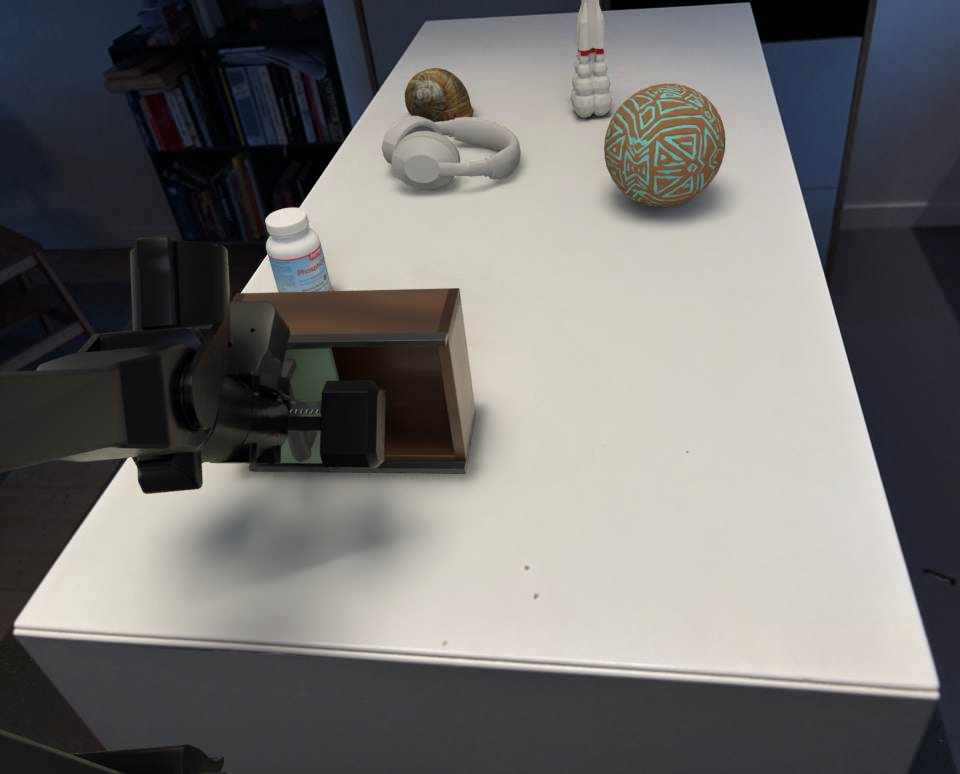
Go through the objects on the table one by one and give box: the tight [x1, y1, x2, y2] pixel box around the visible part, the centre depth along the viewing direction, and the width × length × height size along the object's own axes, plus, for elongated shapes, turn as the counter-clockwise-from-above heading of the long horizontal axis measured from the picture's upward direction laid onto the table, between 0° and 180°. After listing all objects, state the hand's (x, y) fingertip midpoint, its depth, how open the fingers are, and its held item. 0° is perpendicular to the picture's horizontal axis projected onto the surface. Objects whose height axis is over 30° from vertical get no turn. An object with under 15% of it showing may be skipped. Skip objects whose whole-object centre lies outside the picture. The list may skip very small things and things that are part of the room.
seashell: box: [404, 67, 474, 122], centre depth 137 cm, size 11×9×8 cm
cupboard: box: [231, 287, 477, 474], centre depth 71 cm, size 8×20×14 cm, turn 84°
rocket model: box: [570, 0, 613, 119], centre depth 125 cm, size 7×7×30 cm
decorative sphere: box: [603, 83, 726, 208], centre depth 103 cm, size 15×15×15 cm
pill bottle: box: [264, 207, 333, 292], centre depth 93 cm, size 6×6×11 cm
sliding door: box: [281, 347, 339, 463], centre depth 68 cm, size 4×9×13 cm, turn 83°
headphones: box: [381, 115, 522, 191], centre depth 120 cm, size 18×8×20 cm
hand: (298, 430), depth 67 cm, fingers open, 9 cm apart
